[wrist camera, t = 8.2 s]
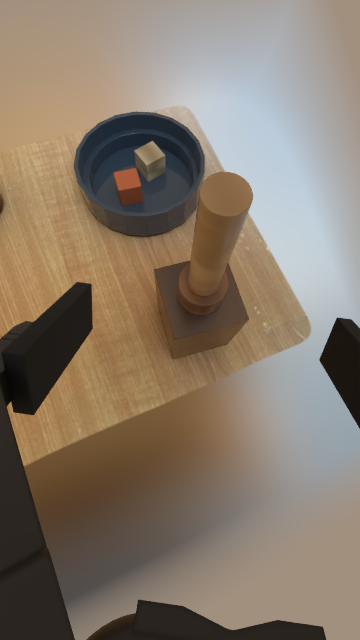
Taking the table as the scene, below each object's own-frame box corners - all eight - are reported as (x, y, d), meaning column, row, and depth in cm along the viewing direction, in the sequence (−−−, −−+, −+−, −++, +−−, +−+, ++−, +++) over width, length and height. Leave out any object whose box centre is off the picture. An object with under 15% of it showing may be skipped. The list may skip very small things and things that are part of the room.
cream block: (153, 158, 50) (152, 140, 47) (165, 172, 49) (165, 155, 46) (136, 168, 49) (134, 150, 46) (148, 182, 48) (146, 165, 45)
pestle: (215, 268, 32) (252, 151, 17) (229, 308, 30) (282, 219, 16) (172, 279, 31) (173, 168, 17) (185, 320, 30) (198, 239, 16)
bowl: (182, 133, 53) (184, 102, 47) (216, 222, 47) (221, 199, 42) (75, 154, 50) (64, 124, 45) (97, 250, 45) (88, 229, 40)
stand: (210, 293, 44) (224, 252, 32) (227, 343, 42) (249, 319, 30) (158, 306, 43) (153, 269, 31) (173, 359, 41) (174, 339, 29)
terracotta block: (138, 184, 48) (135, 167, 45) (143, 201, 47) (141, 185, 44) (117, 188, 48) (113, 172, 45) (122, 206, 47) (118, 190, 44)
